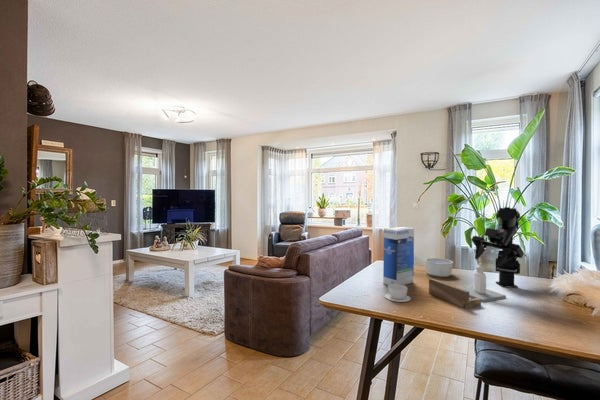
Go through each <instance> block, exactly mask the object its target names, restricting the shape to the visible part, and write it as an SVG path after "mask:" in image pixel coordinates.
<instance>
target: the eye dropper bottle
mask: <svg viewBox="0 0 600 400" xmlns="http://www.w3.org/2000/svg"><path fill="white" fill-rule="evenodd" d="M475 270H476V271H474V272H473V280H472V281H473V285H472V287H473V290H474V291H475V292H477V293H479V294H486V289H487V275H486V274H485V273H484V266H482V263H481V262H480V263H478V265H476V269H475Z"/></svg>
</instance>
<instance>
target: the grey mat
mask: <svg viewBox="0 0 600 400" xmlns="http://www.w3.org/2000/svg"><path fill="white" fill-rule="evenodd" d="M459 288H460V289H463V290H466V291H469V299H474V298H479V299H481V303H486V302H492V301H496V300H501V299H507V295H505V294H502V293H501V292H500V293H499V292H497V291H493V290H490V289H487V288H486V294H479V293H477V292H475V291H474V290H473V286H467V287H459Z"/></svg>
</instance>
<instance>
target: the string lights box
mask: <svg viewBox="0 0 600 400" xmlns="http://www.w3.org/2000/svg"><path fill="white" fill-rule="evenodd" d="M414 242H415V228H414V227H407V226H397V227H387V228H383V266H382V267H383V276H382V277H383V282H382V284H384V285H387V286H389V285H391V284H400V285H404V286H407V285H409V284H412V283H414V282H415V281H414V279H415V277H414V273H415V272H414V261H415V259H414V258H415V257H414V255H415V253H414V252H415V248H414V247H415V245H414V244H415V243H414Z"/></svg>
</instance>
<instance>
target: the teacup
mask: <svg viewBox="0 0 600 400" xmlns="http://www.w3.org/2000/svg"><path fill="white" fill-rule="evenodd" d="M387 289H388V293H386V294H385V295H384V298H385V299H387V300H389V301H392V302H398V303H405V302H410V301H411V300H412V299H411V298H412V297H410V296H409V295H408V294H407V293H408V290H409V289H408V286H407V285H400V284H391V285H387Z"/></svg>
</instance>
